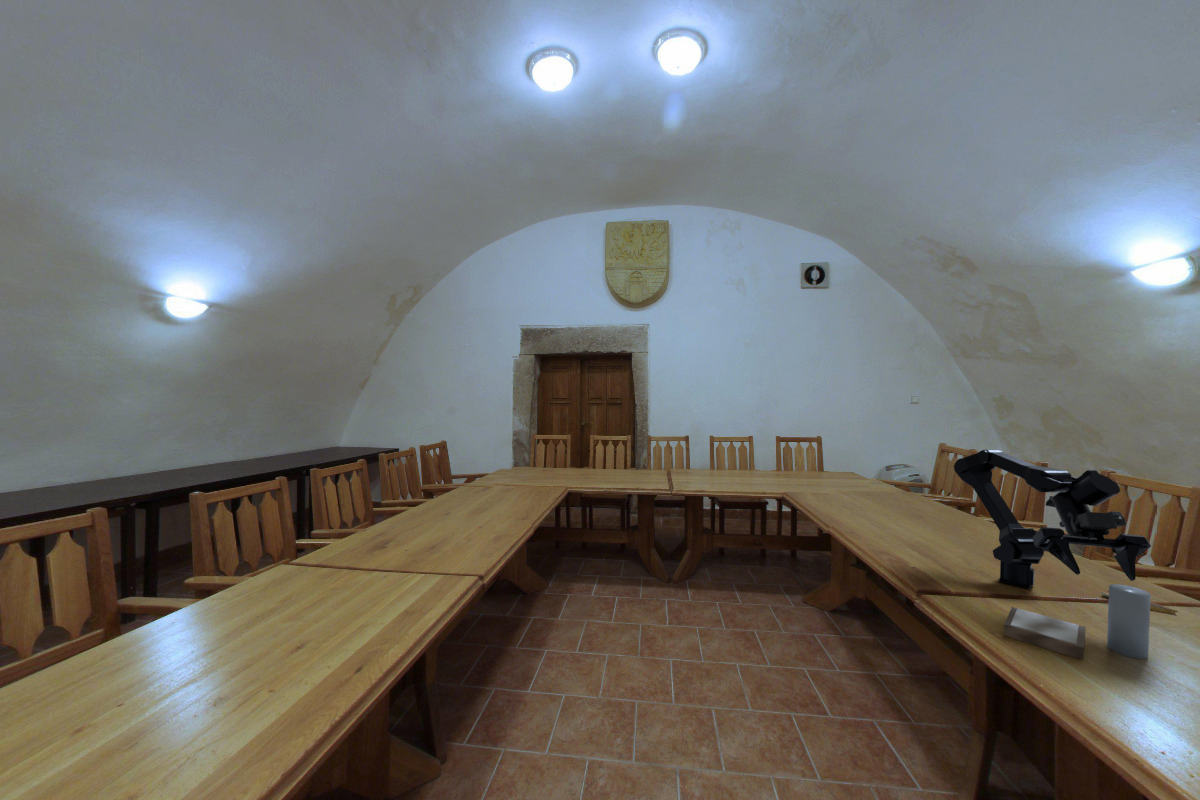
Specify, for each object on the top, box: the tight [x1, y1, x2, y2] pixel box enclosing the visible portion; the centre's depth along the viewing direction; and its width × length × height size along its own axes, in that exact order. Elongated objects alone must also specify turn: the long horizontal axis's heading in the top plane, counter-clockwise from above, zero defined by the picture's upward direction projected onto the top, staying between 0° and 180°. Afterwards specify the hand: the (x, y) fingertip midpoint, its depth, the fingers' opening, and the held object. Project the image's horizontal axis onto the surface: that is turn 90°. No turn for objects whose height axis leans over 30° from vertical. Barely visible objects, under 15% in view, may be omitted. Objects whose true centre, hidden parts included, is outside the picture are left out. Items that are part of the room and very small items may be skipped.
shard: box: [1100, 590, 1179, 615], centre depth 114 cm, size 11×8×2 cm
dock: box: [1003, 606, 1086, 661], centre depth 99 cm, size 12×12×3 cm
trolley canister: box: [1106, 583, 1152, 660], centre depth 94 cm, size 6×6×13 cm
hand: (1105, 576), depth 100 cm, fingers open, 9 cm apart
